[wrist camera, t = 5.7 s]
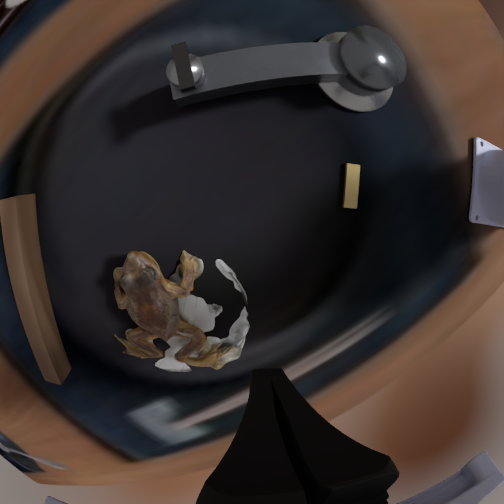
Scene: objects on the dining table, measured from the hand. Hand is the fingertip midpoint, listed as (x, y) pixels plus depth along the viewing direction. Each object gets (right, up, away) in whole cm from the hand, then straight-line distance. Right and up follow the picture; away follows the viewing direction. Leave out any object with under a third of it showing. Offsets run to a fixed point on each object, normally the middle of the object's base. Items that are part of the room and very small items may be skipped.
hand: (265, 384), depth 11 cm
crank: (+2, +17, +3) cm, 18 cm away
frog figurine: (-7, +2, +8) cm, 11 cm away
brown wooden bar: (-18, +3, +6) cm, 19 cm away
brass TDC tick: (+6, +10, +6) cm, 14 cm away
